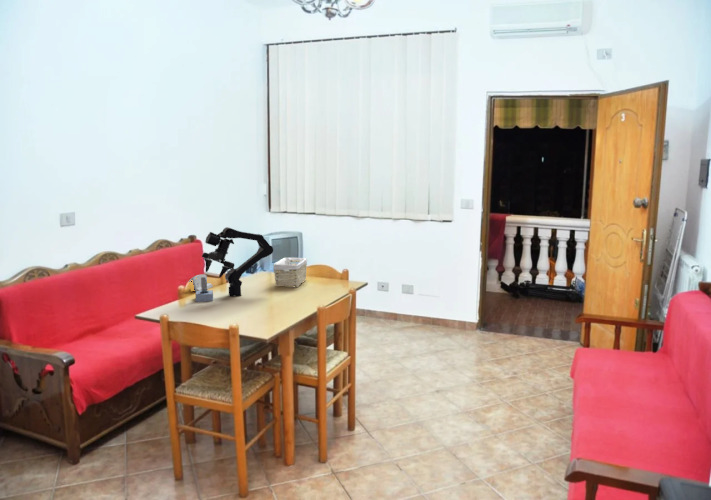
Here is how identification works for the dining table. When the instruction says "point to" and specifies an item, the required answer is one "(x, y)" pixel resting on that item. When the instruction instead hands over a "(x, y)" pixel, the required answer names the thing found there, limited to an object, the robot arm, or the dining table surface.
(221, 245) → the robot arm
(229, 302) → the dining table surface
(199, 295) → the hole block
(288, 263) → the storage basket
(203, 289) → the peg
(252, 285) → the dining table surface
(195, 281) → the hinge
